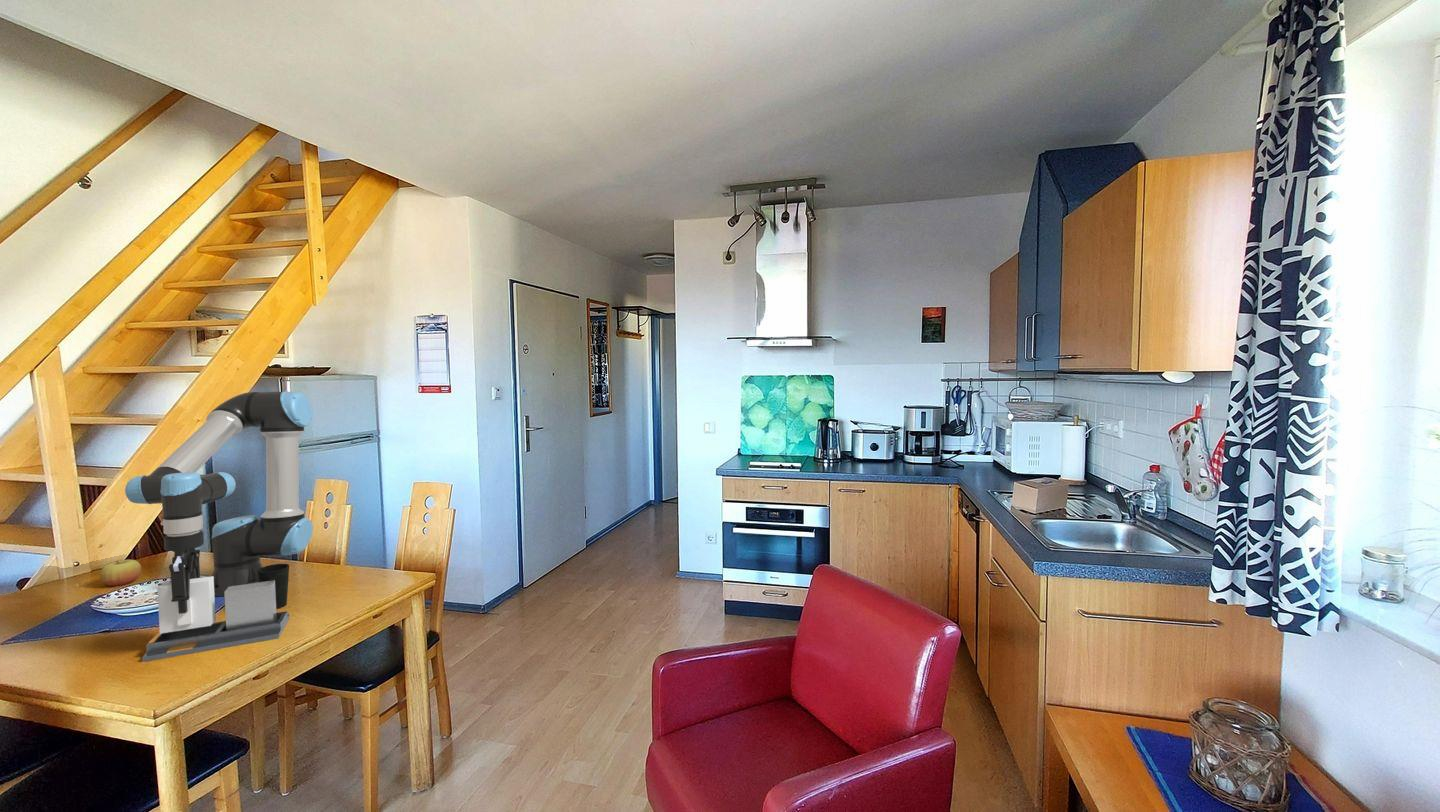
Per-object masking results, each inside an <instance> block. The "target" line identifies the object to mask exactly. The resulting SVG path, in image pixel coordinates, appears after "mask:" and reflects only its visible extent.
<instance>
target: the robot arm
mask: <svg viewBox="0 0 1440 812" xmlns="http://www.w3.org/2000/svg"><path fill="white" fill-rule="evenodd" d="M313 414H314V413H313V408H312V404H311V402H310V400H309V399H308V397H307V396H306V395H304V394H303V393H301V392H299V391H298V392H297V391H248V392H243V393H240V394H238V395H236V396H234V397H231V398H228V399H227V400H226V401H224V402H221V403H220V404H219V405H217V406H216V407H214V409H212V410H211V412H209V413H208V414H207V416H206V418H205V420H206V421H205V422H204V423H203V424H202V425H201V426H200V427H199V428H198V429H197V430H196V431H195V432H193V433H192V434H191V435H190V437H188V438H187V439H186V440H185V441H184V442H182V443H181V444H180V446H179V447H178V448H177V449H176V450H174V451H173V452H172V453H171V454H170V455H169V456H168V457H167V458H166V459H165V460H164V461H163V462H162V463H160V465H159V466H157V467H156V468H155V469H154V470H153V471H152V472H151V473H150V474H149V475H147V474H146V475H144V474H143V475H140V476H139V475H138V476H135V477H132V478H131V479H129V481H128V482H127V483H126V485H125V489H124V490H125V491H124V493H125V496H126V499H128V501H129V502H131V503H132V504H142V505H144V504H146V505H155V504H161V505H162V506H161V507H162V521H161V522H160V526H163V534H164V535H165V536H163V546H164V547H163V548H164V550H165V551H167V552H173V553H174V555H173V556H172V558H171V559H172V561H171V563H170V564H169V565H168V568H169V573H170V582H171V586H172V600H171V601H172V602H176V605H177V623H178V626H179V625H185V624H192V604H191V598H190V596H189V592H190V579H195V578H201V571H200V567H201V565H200V556H201V555H200V553H201V550H200V549H196V548H200V547H202V546H203V545H204V543H205V540H204V536H205V535H204V531H202V530H203V529H204V519H203V518H204V517H203V505H205V504H208V503H209V504H210V503H213V502H215V501H220V500H221V501H222V500H223V499H224V498H227V497H229V496H231V495H232V494H233V493H234V492H235V490H236V485H237V484H236V480H235V479H234V477H233V476H232V475H231V473H230V474H229V473H227V472H225V471H224V472H223V471H219V472H211V473H208V474H200V473H198V471H199V469H201V468H202V467H203V466H204V464H205V463H206V462H208V461H209V460H210V459H211V457H212V456H214V455H215V453H217V451H218V450H219V449H220V448H221V447H222V446H223V445H224V444H226V442H227V441H228V440H229V439H230V438H231V437H232V436H235V435H238V434H240V433H241V432H243V430H244V429H248V428H259V429H260V432H259V433H260V434H261V435H262V436H264V437H265V443H266V444H265V450H266V451H265V453H266V454H265V463H266V464H265V467H266V469H265V472H266V473H265V478H266V479H265V481H266V482H265V489H266V492H265V494H266V495H265V496H266V497H265V503H266V504H265V506H266V507H265V511H264V512H263V513H262V514H261V515H260V517H259V515H257V514H249V515H242V516H237V517H232V518H228V519H225V520H221V521H218V522H217V523H215V524H214V525H213V526H212V529H211V530H212V531H211V532H212V534H211V540H212V542H211V543H212V555H213V556H212V557H213V571H212V574H211V576H214V596H215V597H225V594H224V592H225V590H226V589H227V588H228V587H230V586H237V585H244V584H252V583H259V579H258V573H257V570H258V569H260V568H262V567H264V566H263V563H262V562H261V557H264V556H265V557H266V556H283V557H285V556H289V555H297V554H300V553H302V552H304V550H305V549H306V548H307V547H308V545H309V543H310V541H311V538H312V536H313V530H314V528H313V527H314V525H313V523H312V521H311V519H310V518H307V517H305V511H304V510H302V509H301V508H300V504H299V503H300V499H299V497H300V495H299V494H300V491H299V487H300V481H299V480H300V479H299V477H300V475H299V473H300V472H299V471H300V470H299V469H300V467H299V465H300V464H299V462H300V460H299V457H300V454H299V453H300V452H299V445H300V443H299V440H300V439H299V438H300V436H301V435H302V434H304V433H305V427H308V426H309V425H310V424H311V423H312V420H313Z"/></svg>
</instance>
